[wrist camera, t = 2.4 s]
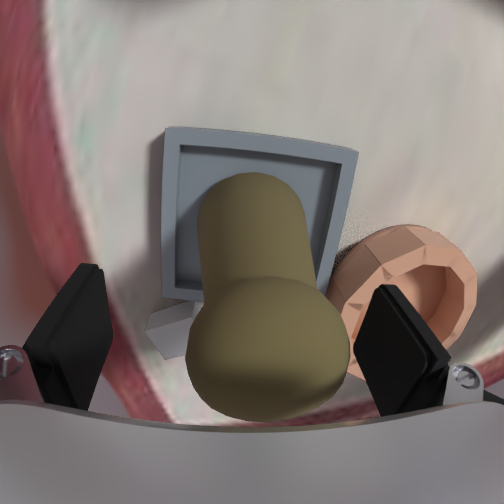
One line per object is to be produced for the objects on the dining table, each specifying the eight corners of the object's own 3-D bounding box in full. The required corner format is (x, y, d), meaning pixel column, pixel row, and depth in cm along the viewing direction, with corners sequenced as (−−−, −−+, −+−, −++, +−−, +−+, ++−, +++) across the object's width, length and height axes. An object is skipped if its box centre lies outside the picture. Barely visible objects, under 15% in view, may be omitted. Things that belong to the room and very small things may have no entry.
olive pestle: (234, 284, 20) (241, 453, 10) (175, 209, 17) (120, 380, 7) (321, 238, 18) (393, 399, 9) (271, 150, 15) (335, 283, 6)
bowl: (470, 234, 19) (497, 255, 16) (421, 347, 24) (437, 374, 21) (344, 213, 18) (364, 237, 15) (307, 350, 23) (315, 383, 20)
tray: (349, 148, 17) (358, 152, 15) (316, 296, 21) (320, 309, 20) (171, 126, 16) (165, 128, 14) (166, 284, 20) (162, 297, 19)
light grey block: (195, 297, 21) (191, 316, 19) (213, 327, 22) (211, 347, 20) (151, 311, 21) (144, 331, 19) (170, 339, 22) (165, 359, 20)
